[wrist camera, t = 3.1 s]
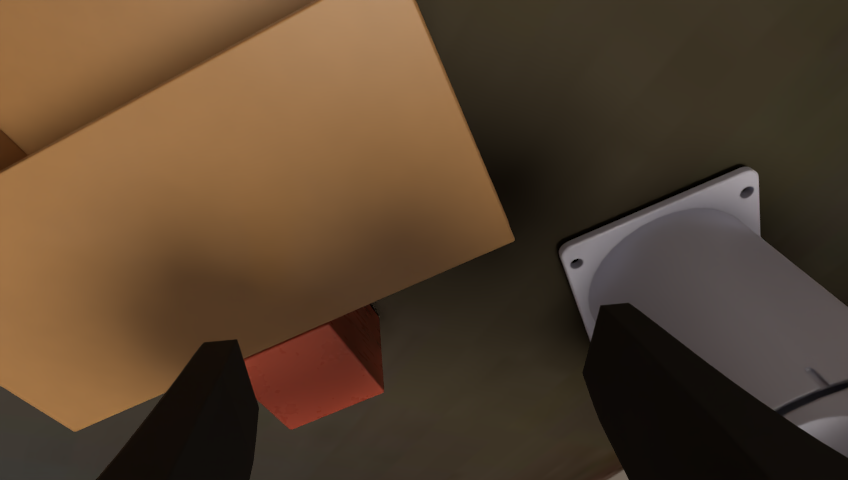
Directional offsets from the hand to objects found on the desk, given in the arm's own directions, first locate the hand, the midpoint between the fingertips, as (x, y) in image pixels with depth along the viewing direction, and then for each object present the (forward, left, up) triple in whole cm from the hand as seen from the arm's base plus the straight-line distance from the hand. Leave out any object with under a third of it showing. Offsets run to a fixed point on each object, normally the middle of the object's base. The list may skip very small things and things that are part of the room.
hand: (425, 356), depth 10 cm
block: (-4, +6, -9) cm, 11 cm away
